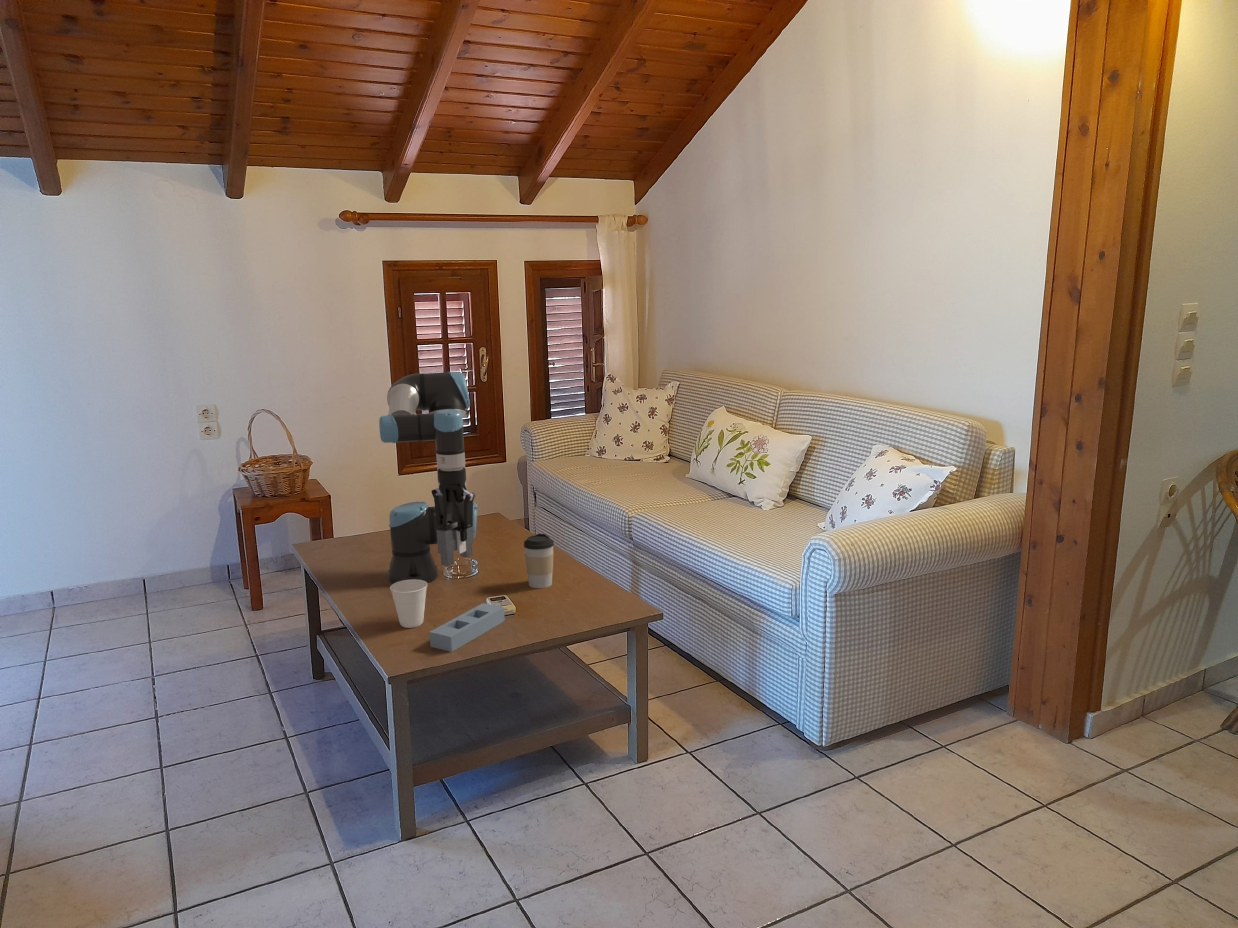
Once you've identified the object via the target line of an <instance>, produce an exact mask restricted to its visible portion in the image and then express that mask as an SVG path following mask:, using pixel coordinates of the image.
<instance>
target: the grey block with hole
mask: <svg viewBox="0 0 1238 928" xmlns="http://www.w3.org/2000/svg"><path fill="white" fill-rule="evenodd" d="M505 621H506V619H505V607H504V606H500V605H496V604H490V603H486V602H483V603H480V604H479V605H477V606H475V607H473V608H471V609H469V610H467V611H466V612H464V613H462V614H460V615H458V616H456V617H455V618H453V619H451V620H449V621H447V622H445V623H443V624H441V625H439V626H437V627H436V628H434V629H432V630H430V631H429V632H428V633H429V643H430V645H429V646H430V647H431V648H435V649H438V650H442V651H448V652H450V653H452V652H454V651H456V650H457V649H459V648H461V647H463V646H464V645H466V644H467V643H470V642H471V641H474V640H475V639H476V638H479V637H480V636H482V635H484V634H485V633H487V632H488V631H490V630H492V629H493V628H495V627H498V626H499V625H500V624H502V623H504V622H505Z"/></svg>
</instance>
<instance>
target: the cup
mask: <svg viewBox="0 0 1238 928" xmlns="http://www.w3.org/2000/svg"><path fill="white" fill-rule="evenodd" d="M428 585H429V584H428V583H427V582H426V581H423V580H417V579H411V580H403V581H399V582H396V583H394V584H392V583H391V584H390V587H389V590H390V591H391V595H392V598H393V599H392V600H393V602H394V606H395V609H396V614H397V617H398V621H399V624H400V626H402V627H403V628H406V629H407V628H408V629H412V628H417V627H419V626H421V625H422V624H423V623H424V618H425V617H424V616H425V610H426V609H425V606H426V596H427V589H428Z"/></svg>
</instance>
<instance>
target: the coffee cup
mask: <svg viewBox="0 0 1238 928" xmlns="http://www.w3.org/2000/svg"><path fill="white" fill-rule="evenodd" d="M554 542H555V541H554V539H552V538H551V537H550V536H548V535H547V534H545V533H537V534H535V535H529V536H528V537H527V539H526V540H524V541H523V548H524V557H525V565H526V573H527V579H528V586H529V587H531V588H533V589H546V588H548V587H551V586H553V571H554V546H555V543H554Z"/></svg>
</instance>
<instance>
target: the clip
mask: <svg viewBox="0 0 1238 928" xmlns="http://www.w3.org/2000/svg"><path fill="white" fill-rule="evenodd" d="M457 529H459V528H458V523H457V522H455V523H453V524H450V525H448V526H445V527H443V528H440V529H438V530H437V543H438V544H437V553H438V554H440V565H441V566H445V567H449V566H452V565H454V564H455V563H454V562H455V560H454V552H456V551H458V550H457V534H456V530H457ZM473 544H475V538H474V535H473V526H472V527H470V528H468V529H467V540H466V551H465V552H463V553H460V554H459V556H460V557H463V558H470V557H471V556H473Z"/></svg>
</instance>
